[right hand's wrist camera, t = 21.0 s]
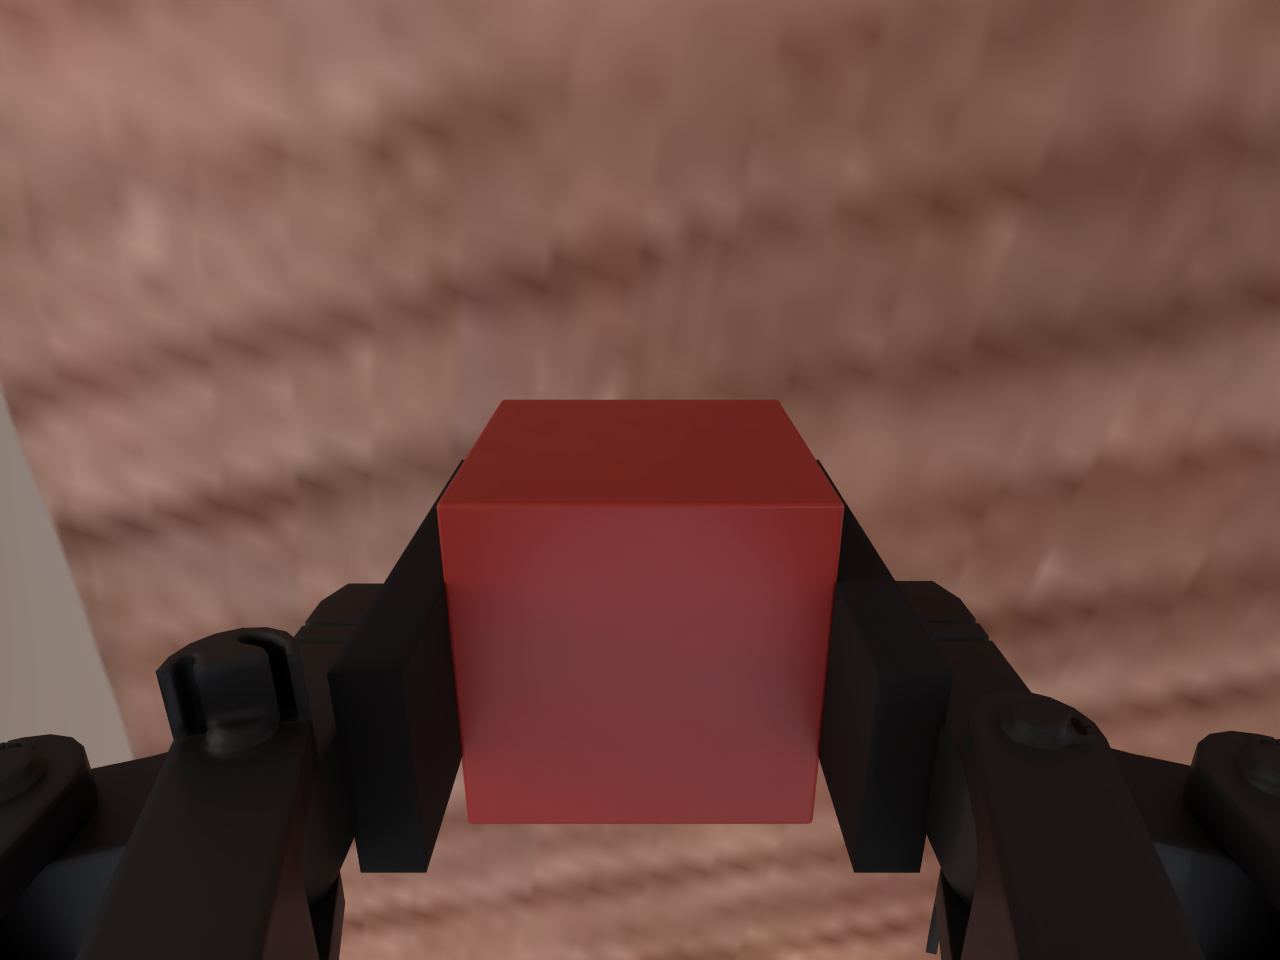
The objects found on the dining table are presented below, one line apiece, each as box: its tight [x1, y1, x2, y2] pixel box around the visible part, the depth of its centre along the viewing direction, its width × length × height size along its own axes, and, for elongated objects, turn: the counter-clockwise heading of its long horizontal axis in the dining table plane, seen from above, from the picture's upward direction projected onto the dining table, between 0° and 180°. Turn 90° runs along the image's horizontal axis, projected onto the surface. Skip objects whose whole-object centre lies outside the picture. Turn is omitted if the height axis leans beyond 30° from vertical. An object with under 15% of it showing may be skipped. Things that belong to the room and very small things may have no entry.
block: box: [437, 400, 844, 824], centre depth 13 cm, size 5×5×5 cm
